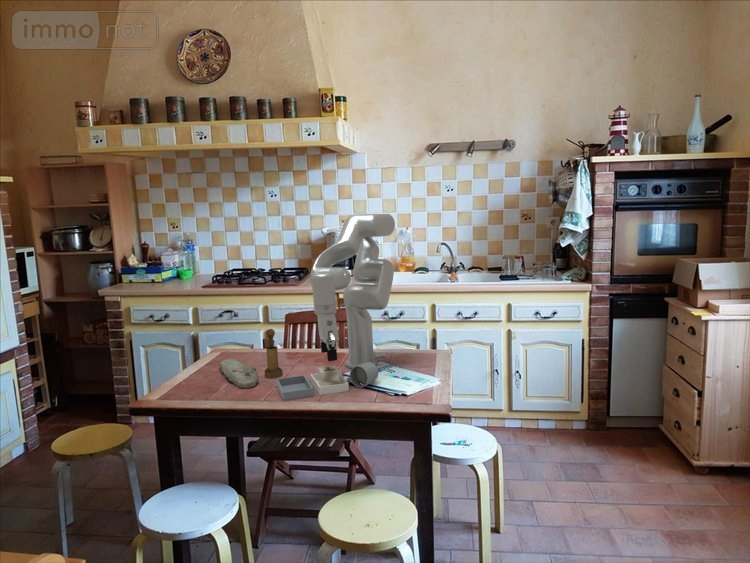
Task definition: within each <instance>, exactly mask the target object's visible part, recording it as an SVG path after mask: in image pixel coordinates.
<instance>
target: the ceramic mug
mask: <svg viewBox="0 0 750 563" xmlns="http://www.w3.org/2000/svg"><path fill="white" fill-rule="evenodd" d="M378 377H379V368H378V367H377V365H375V364H373V363H371V362H365V363H362V364H360V365H356V366H354V367H353V368H350V371H349V377H348V378H347V382H348V383H352V384H353V385H354V386H355V387H356V388H360V389H361V388H364V387H366V386H368V385H369V384H372V383H374V382H375V381H377V379H378ZM371 382H372V383H371ZM360 383H362V384H365V385H361V384H360Z"/></svg>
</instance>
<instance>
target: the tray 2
mask: <svg viewBox="0 0 750 563" xmlns="http://www.w3.org/2000/svg"><path fill="white" fill-rule="evenodd" d="M339 380H340V384H337V385H330V386H323V387H321V386H320V385H319V375H318V372H316V373H310V384H312V387H313V388H314V389H315V391H317V393H318V395H319V396H323V395H330V394H336V393H344V392H349V391H350V387H349V386H350V385H349V384H350V383H349V382H348V380H346V379H345V377H344V376H343V374H341V372H339Z"/></svg>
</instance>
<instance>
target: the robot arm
mask: <svg viewBox="0 0 750 563" xmlns="http://www.w3.org/2000/svg"><path fill="white" fill-rule="evenodd" d="M395 228H396V221H395V219H394V217H393V216H392V214H390V213H363V214H362V213H357V214H351V215H349V216H348V217H346V219H345V221H344V223H343V226H342V228H341V230H340V233H339V235H338V237H337V240H336V241H335V243H333V244H332V245H330V246H329V247H328V248H326V249H325V250H324V251H322V252H321V253H320V254H319V255H318V256H317V257H316V259H315V261H314V263H313V266H312V268H311V270H310V274H309V281H310V284H311V286H312V288H311V289H312V300H313V301H312V302H313V308H314V309H313V310H314V315H316V316H317V328H318V335H319V336H318V337H319V339H320V349H321V353H322V354H324V353H326V355H327V356H326V357H327V361H328V362H335V361H337V360H338V352H337V344H336V343H337V342H339V332H338V325H337V323H338V322H337V318H336V313H337V311H338V310H337V300H336V297H337V296H336V291H338V290H343V293H342V294H343V295H342V298H343V303H344V307H345V314H346V324H347V325H346V326H347V341H348V342H347V346H348V359H347V360H345V363H344V364H345V367H347V368H348V369H352V368H353V367H354V366H356V365H360V364H362V363H365V362H371V363H373V364H375V365H376V366H377V365H378V363H379V361H378V360H379V359H385V358H386V357H387V356H386V353H385V352H382V353H381V352H380V351H379V352H375V351H374V345H373V344H374V338H373V321H372V320H373V319H372V316H371V315H370V313H369V311H370V310H371V311H382V310H385V309H386V308H387V307H388V304H389V301H390V295H391V292H392V285H393V282H394V277H395V276H394V274H395V273H394V271H395V270H394V265H393V263H392V262H391V261H390V260H389V259H386V258H379V255H380V248H379V246H378V244H377V242H376V241H375V240H374V238H375V237H377V238H379V237H381V238H382V237H386V236H387V237H389V236H391V235H392V234H393V232H394V231H395ZM373 237H374V238H373ZM354 256H356V257H355V262H354V266H353V270H352V275H351V272H350V271H349V270H348V269H347V268H344V267H332V266H333V265H335V264H337V263H340V262H343V261H346V260H348V259H350V258H353V257H354ZM352 277H353V279H354V281H355V282H357V283H353V284H350V283H351V282H352V281H351V280H352ZM368 310H369V311H368Z"/></svg>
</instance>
